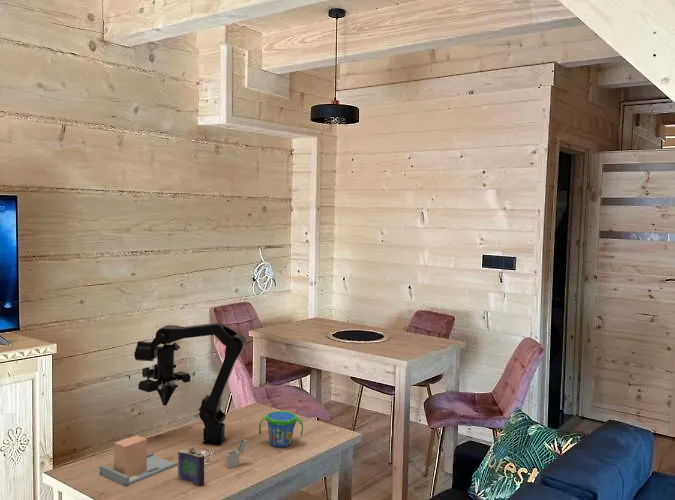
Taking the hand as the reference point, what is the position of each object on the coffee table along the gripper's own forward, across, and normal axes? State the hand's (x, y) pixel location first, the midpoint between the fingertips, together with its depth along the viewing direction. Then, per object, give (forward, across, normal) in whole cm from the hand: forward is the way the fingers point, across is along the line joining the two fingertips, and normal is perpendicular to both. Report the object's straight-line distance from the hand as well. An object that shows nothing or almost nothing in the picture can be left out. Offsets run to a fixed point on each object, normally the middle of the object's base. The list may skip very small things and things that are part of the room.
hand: (164, 405), depth 213 cm
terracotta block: (+12, +25, +16) cm, 32 cm away
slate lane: (+12, +22, +16) cm, 29 cm away
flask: (+12, +17, +33) cm, 39 cm away
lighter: (+12, 0, +35) cm, 37 cm away
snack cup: (+12, -23, +35) cm, 43 cm away
